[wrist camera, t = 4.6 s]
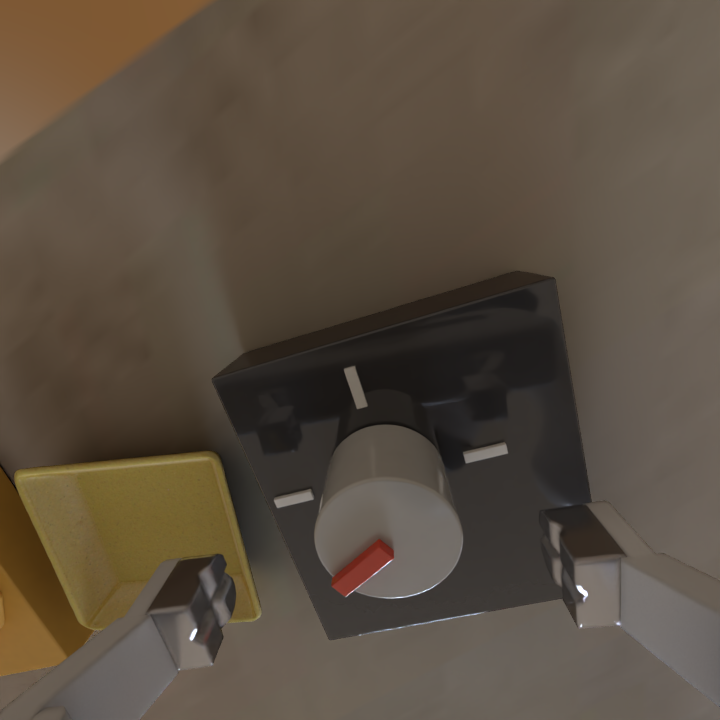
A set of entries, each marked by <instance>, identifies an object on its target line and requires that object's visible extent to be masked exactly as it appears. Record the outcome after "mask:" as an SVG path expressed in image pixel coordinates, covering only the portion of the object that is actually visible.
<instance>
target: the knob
mask: <svg viewBox="0 0 720 720" xmlns="http://www.w3.org/2000/svg"><path fill="white" fill-rule="evenodd" d="M314 542H315V548H316V551H317V554H318V557H319V559H320V561H321V562H322V564H323V566H324V567H325V569H326V570H327V571H328V572H329V573H330V574H331V576H332V577H333V578H332V583H331V586H332V587H333V588H334V589H335V590H337V591H338V592H339V593H341V594H342V595H343V596H345V597H347V596H348V595H349V594H350V593H352V592H353V591H355V592H358V593H361V594H363V595H367V596H371V597H377V598H387V599H393V598H404V597H410V596H414V595H417V594H420V593H423V592H425V591H427V590H429V589H431V588H433V587H435V586H436V585H438V584H439V583H441V582H442V581H443V580H444V579H445V578H446V577H447V576H448V575H449V574H450V573H451V572H452V570H453V569H454V567H455V566H456V564H457V562H458V560H459V558H460V555H461V551H462V547H463V530H462V525H461V521H460V518H459V514H458V511H457V507H456V504H455V501H454V497H453V494H452V490H451V487H450V483H449V480H448V476H447V473H446V470H445V466H444V463H443V460H442V458H441V456H440V454H439V452H438V450H437V449H436V448H435V446H434V445H433V444H432V443H431V442H430V441H429V440H428V439H426V438H425V437H424V436H422V435H421V434H419V433H417V432H416V431H413V430H411V429H409V428H405V427H402V426H397V425H386V424H384V425H374V426H369V427H366V428H363V429H361V430H359V431H356V432H354V433H353V434H351V435H350V436H348V437H347V438H346V439H345V440H343V441H342V442H341V443H340V445H339V446H338V447H337V448H336V450H335V451H334V453H333V455H332V457H331V460H330V463H329V467H328V471H327V475H326V480H325V484H324V488H323V492H322V497H321V501H320V505H319V510H318V514H317V518H316V523H315V529H314Z"/></svg>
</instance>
